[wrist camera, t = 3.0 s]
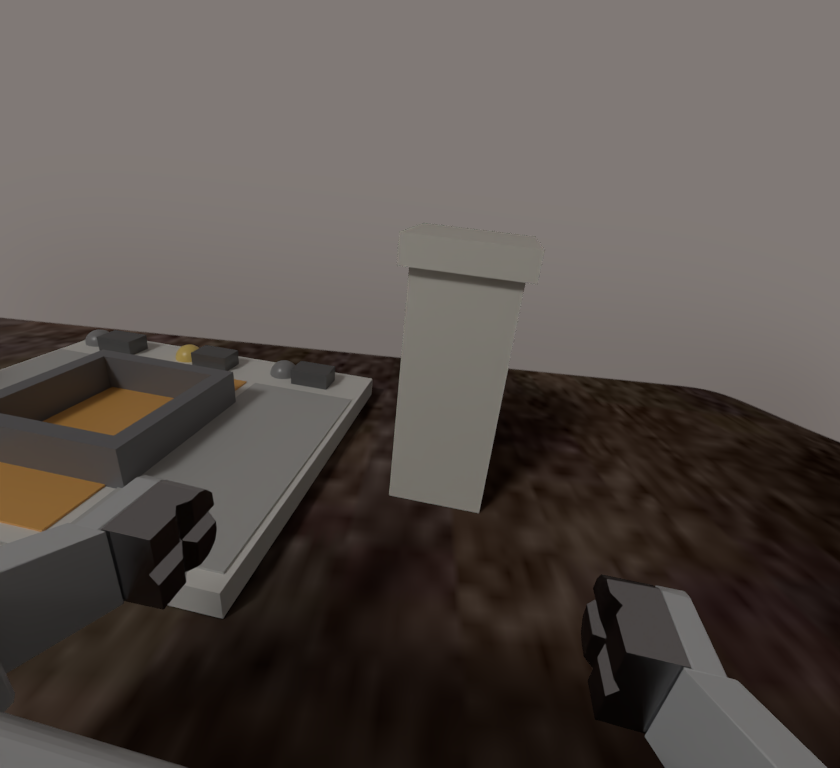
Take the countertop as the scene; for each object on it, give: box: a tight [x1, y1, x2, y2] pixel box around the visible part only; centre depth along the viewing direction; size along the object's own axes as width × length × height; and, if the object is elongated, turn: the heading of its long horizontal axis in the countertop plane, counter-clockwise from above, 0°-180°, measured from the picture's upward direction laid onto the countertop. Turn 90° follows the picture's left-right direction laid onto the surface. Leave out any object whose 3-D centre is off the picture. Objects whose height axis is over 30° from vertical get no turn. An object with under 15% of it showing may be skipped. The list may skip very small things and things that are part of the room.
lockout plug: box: [389, 223, 545, 513], centre depth 20 cm, size 5×5×12 cm
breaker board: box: [0, 330, 372, 619], centre depth 23 cm, size 21×18×3 cm
